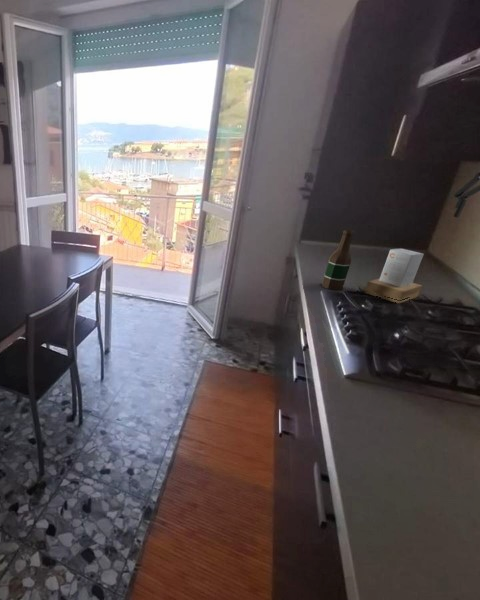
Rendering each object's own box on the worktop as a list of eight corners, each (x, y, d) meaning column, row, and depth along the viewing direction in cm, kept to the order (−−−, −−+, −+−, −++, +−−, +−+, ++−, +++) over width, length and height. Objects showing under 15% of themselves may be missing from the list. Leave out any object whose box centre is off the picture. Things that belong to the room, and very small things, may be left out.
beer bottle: (346, 291, 146) (365, 233, 137) (325, 289, 148) (343, 232, 138) (337, 284, 153) (354, 229, 144) (317, 283, 155) (333, 228, 145)
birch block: (417, 297, 141) (422, 285, 139) (398, 303, 135) (403, 291, 133) (382, 287, 150) (386, 275, 148) (364, 292, 145) (368, 281, 143)
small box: (411, 286, 138) (424, 253, 133) (399, 287, 136) (412, 254, 131) (390, 279, 145) (402, 248, 140) (378, 280, 144) (389, 249, 138)
